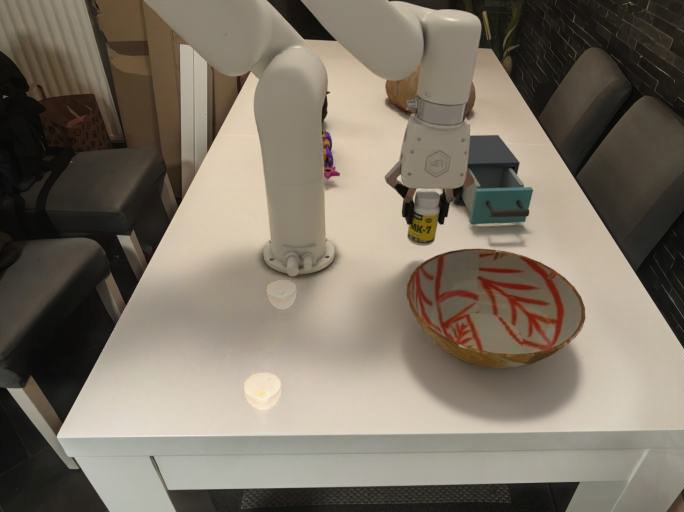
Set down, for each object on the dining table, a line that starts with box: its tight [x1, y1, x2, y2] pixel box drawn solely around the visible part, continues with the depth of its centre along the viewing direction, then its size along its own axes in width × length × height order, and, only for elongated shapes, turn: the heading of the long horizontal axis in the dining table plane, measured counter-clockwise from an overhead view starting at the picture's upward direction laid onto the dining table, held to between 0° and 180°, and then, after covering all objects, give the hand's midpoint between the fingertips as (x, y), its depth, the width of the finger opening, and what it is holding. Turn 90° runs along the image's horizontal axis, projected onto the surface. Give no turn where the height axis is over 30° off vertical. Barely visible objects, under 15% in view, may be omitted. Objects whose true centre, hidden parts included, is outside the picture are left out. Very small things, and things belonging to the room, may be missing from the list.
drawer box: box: [452, 134, 521, 205], centre depth 117 cm, size 14×12×9 cm
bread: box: [384, 64, 476, 115], centre depth 153 cm, size 26×23×15 cm
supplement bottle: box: [406, 189, 440, 247], centre depth 92 cm, size 5×5×8 cm
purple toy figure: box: [322, 129, 341, 180], centre depth 122 cm, size 14×25×12 cm, turn 5°
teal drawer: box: [460, 167, 534, 225], centre depth 108 cm, size 18×11×7 cm, turn 8°
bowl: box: [406, 248, 586, 369], centre depth 80 cm, size 25×25×8 cm
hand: (423, 219), depth 92 cm, fingers closed on supplement bottle, 4 cm apart
